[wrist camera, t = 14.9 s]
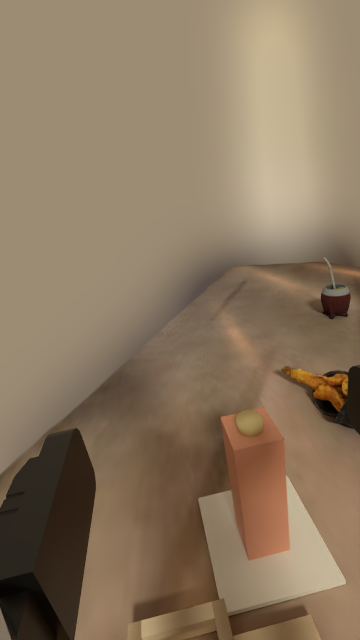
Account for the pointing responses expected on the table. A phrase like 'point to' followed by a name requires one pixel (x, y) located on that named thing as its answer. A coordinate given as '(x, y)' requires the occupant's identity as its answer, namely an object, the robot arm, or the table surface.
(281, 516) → the salmon block with knob
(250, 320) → the table surface
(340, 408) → the fried shrimp in bowl
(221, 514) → the felt pad
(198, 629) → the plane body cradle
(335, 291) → the mate gourd
